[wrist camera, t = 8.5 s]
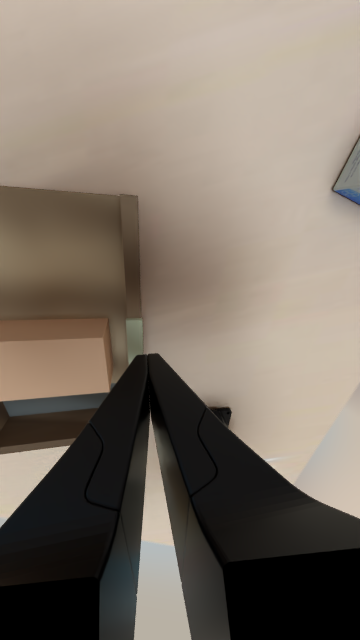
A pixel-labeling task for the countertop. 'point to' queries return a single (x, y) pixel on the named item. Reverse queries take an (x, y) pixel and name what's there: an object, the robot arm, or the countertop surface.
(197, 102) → the countertop surface
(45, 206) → the trap lane
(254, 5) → the countertop surface
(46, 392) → the block
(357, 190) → the medicine box
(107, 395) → the robot arm
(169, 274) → the countertop surface
